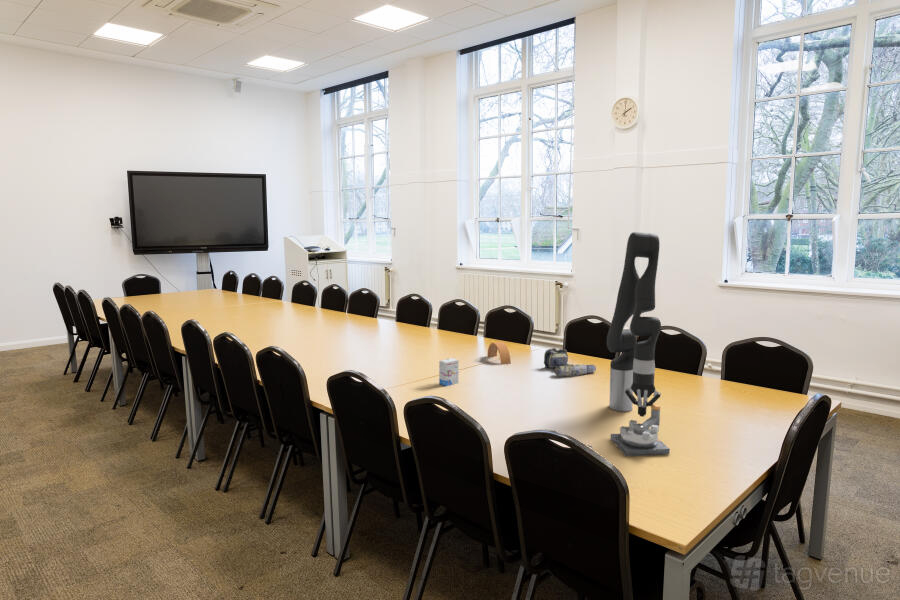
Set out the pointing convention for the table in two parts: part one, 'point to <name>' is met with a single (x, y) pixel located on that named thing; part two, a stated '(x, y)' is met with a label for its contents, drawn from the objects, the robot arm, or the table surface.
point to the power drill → (564, 364)
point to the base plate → (639, 448)
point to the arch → (502, 351)
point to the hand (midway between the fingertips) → (642, 415)
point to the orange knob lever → (642, 430)
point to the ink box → (448, 371)
